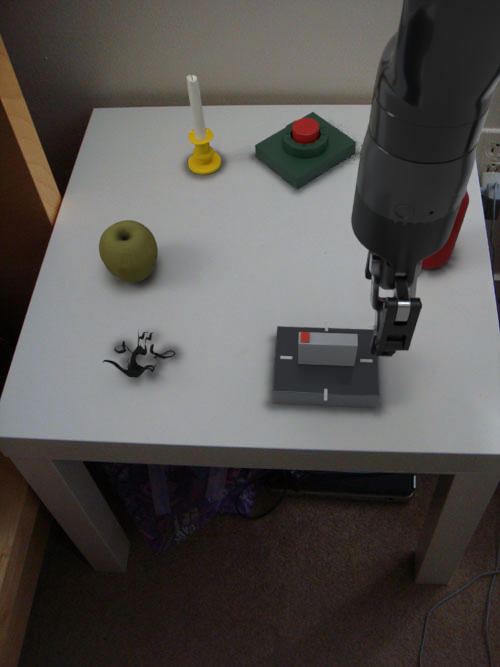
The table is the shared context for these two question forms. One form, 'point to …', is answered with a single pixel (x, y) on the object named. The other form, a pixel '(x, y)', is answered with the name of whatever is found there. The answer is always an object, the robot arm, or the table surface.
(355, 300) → the table surface
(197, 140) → the candle
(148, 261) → the apple
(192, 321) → the table surface
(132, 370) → the creature
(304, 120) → the red button
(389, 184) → the robot arm
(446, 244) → the beverage can
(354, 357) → the tap handle
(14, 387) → the table surface
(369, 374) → the plate
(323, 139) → the button box
